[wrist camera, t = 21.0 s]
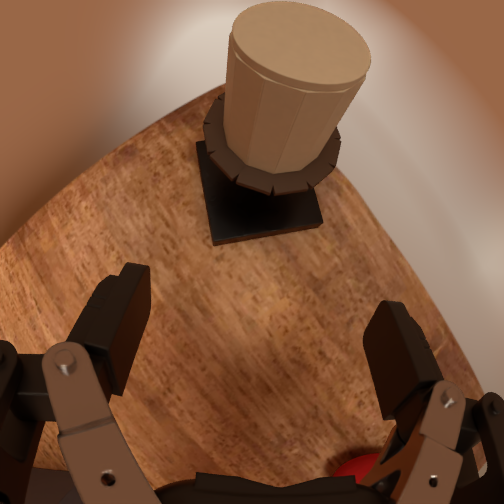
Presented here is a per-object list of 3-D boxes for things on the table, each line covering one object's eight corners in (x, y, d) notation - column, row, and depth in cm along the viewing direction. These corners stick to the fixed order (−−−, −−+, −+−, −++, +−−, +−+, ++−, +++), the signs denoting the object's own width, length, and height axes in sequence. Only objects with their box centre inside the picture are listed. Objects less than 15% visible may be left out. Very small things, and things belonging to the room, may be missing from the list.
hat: (217, 205, 17) (219, 117, 9) (196, 90, 18) (193, -7, 11) (354, 185, 18) (426, 112, 10) (315, 82, 20) (351, -3, 12)
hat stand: (213, 246, 25) (209, 134, 9) (196, 150, 27) (186, -2, 11) (318, 227, 26) (427, 124, 11) (292, 137, 28) (350, 1, 12)
